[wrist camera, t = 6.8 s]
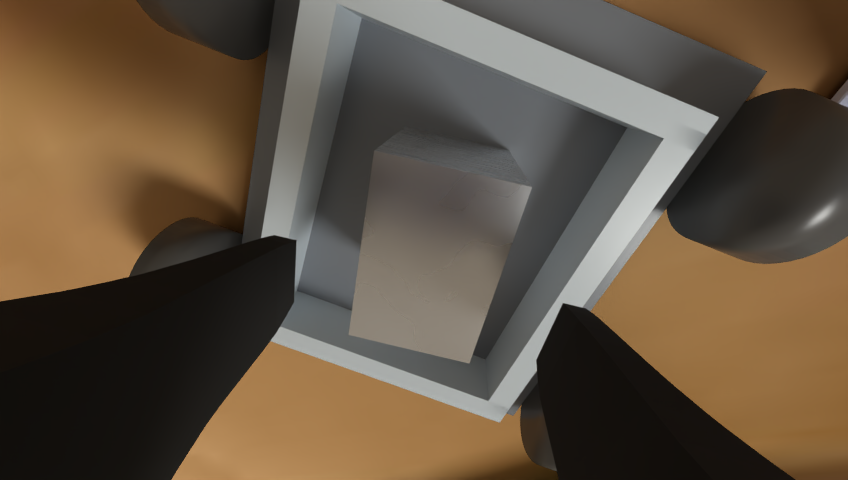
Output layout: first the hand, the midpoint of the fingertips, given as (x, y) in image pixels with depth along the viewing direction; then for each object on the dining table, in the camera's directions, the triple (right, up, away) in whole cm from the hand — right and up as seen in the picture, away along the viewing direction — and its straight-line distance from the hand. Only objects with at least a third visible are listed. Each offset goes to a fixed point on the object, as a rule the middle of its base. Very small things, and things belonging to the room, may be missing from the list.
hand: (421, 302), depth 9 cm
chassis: (+1, +3, +6) cm, 7 cm away
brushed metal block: (+1, +3, +5) cm, 6 cm away
